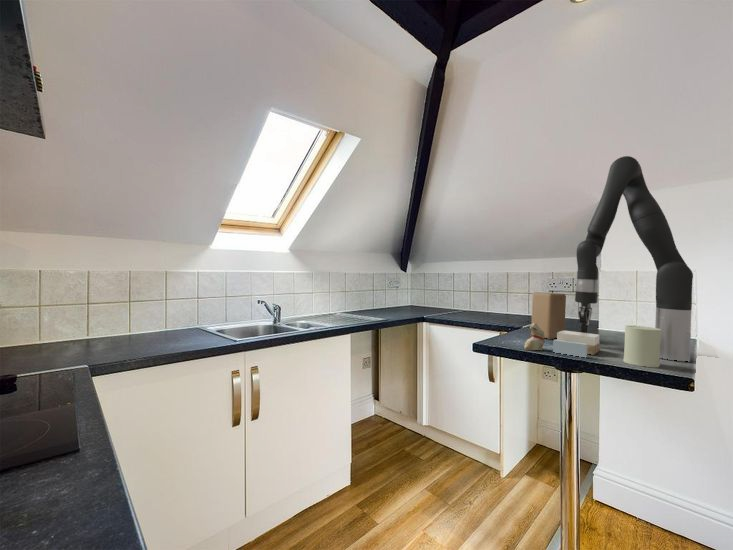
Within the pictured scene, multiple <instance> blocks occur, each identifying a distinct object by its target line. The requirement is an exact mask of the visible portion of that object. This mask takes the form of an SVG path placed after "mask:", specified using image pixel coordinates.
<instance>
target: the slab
mask: <svg viewBox="0 0 733 550" xmlns="http://www.w3.org/2000/svg"><path fill="white" fill-rule="evenodd" d="M600 337H601V335H600V334H596V333H589V332H588V333H581V331H580V332H578V331H574V330H573V331H572V330H566V329H565V330H563V331H560V332H557V339H556V340H562V341H569V342H576V343H583V344H588V345H591V346H595V345H597V344H598V343H599V342H600Z"/></svg>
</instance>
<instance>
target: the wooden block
mask: <svg viewBox="0 0 733 550" xmlns="http://www.w3.org/2000/svg"><path fill="white" fill-rule="evenodd" d="M531 300H532V303H531V325H530V326H532V324H533V323H536V324H537V325H538V327H539V328H540V329H541V330H542V331H544V336H545V338H547V339H546V340H555V339H554V338H557V332H560V331H563V330H565V331H566V307H567V305H566V303H567V295H566V294H565V293H558V292H540V291H539V292H535V291H534V292H533V293H532V299H531ZM530 335H531V336H533V333H532V331H531V330H530Z"/></svg>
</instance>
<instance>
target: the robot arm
mask: <svg viewBox="0 0 733 550" xmlns="http://www.w3.org/2000/svg"><path fill="white" fill-rule="evenodd" d="M648 188H649V187H648V186H647V183H646V180H645V177H644V174H643V170H642V167H641V164H640V163H639V161H638V160H637V159H636V158H635V157H632V156H628V155H625V156H624V155H623V156H620V157H619V158H617V159H616V160H614V161H613V162H612V163H611V165H610V167H609V170H608V174H607V178H606V183H605V186H604V188H603V189H604V190H603V192H602V195H601V198H600V200H599V202H598V205H597V207H596V209H595V211H594V213H593V216H592V218H591V220H590V222H589V223H588V227H587V231H586V232H587V235H586V238H585V240H583V241H580V243H578V245H577V248H576V263H577V272H576V273H577V274H576V275H577V276H576V282H575V295H574V297H575V300H574V302H575V303H580V307H579V308H578V318H579V325H580V332H581V333H589V325H590V323H591V320H592V314H593V307H592V306H591V304H593V305H594V304H598V296H599V282H598V281H599V267H598V266H597V259H598V257H599V256H600V254H601V252H602V250H603V247H604V245H605V242H606V240H607V239H606V238H607V235H608V233H609V232H610V229H611V227H612V225H613V223H614V220H615V218H616V216H617V211H618V208H619V204H620V202H621V199H622V196H623V197H624V200H625V202H626V205H627V210H628V215H629V218H630V221H631V223H632V225H633V228H634V230H635V232H636V234H637V236H638V238H639V239H640V241H641V242H642V243H643V245H644V246H645V248H646V249H647V251H648V252H649V253H650V256H651V257H652V260H653V261H654V265H655V266H654V267H655V268H656V276H655V277H656V278H655V326H654V328H658V329H661V336H660V359H662V358H663V360H667V359H668V360H669V361H674V360H677V361H676V362H685V361H688V362H687V363H690V362H691V361H690V360H691V344H692V343H691V340H692V338H691V337H692V333H691V332H692V331H691V330H692V328H691V327H692V309H693V308H692V307H693V280H694V279H693V278H694V273H693V271H692V269H691V268H690V267H689V266H688V264H687V263H686V262H685V259H684V258H683V257H682V255H681V254H680V251H679V250H678V248H677V246H676V243H675V240H674V237H673V236H674V235H673V233H672V229H671V227H670V224H669V222H668V220H667V218H666V215H665V214H664V211H663V210H662V208H661V207H660V204H659V203H658V201H657V200H656V198H654V196H653V195H652V193H651V192H650V190H649V189H648ZM668 360H667V361H668Z"/></svg>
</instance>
